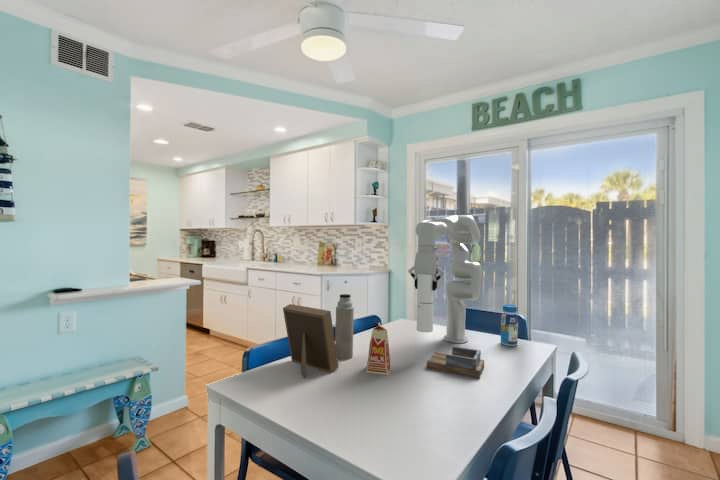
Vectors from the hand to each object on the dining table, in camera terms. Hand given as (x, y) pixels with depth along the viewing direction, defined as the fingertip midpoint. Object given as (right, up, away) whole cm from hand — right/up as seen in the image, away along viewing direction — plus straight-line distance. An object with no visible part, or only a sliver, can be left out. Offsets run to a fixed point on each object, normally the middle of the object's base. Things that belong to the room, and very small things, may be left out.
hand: (425, 289), depth 160 cm
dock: (+11, -32, -9) cm, 35 cm away
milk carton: (-22, -31, -13) cm, 40 cm away
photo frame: (-51, -31, -14) cm, 61 cm away
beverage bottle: (+48, -32, +27) cm, 64 cm away
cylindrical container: (0, -18, 0) cm, 18 cm away
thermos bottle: (-36, -31, +2) cm, 48 cm away
